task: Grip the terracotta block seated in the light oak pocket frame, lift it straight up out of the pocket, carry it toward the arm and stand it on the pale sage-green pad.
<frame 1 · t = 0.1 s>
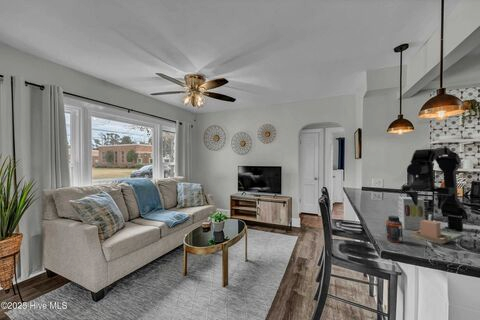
hand: (427, 207, 98), 15 cm above the countertop, tool pointing down, fingers open, 9 cm apart
supplement box: (411, 228, 113), on the countertop
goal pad: (443, 234, 101), on the countertop
part block: (430, 230, 96), in the pocket block
supplement bottle: (394, 241, 94), on the countertop
pocket block: (430, 238, 96), on the countertop
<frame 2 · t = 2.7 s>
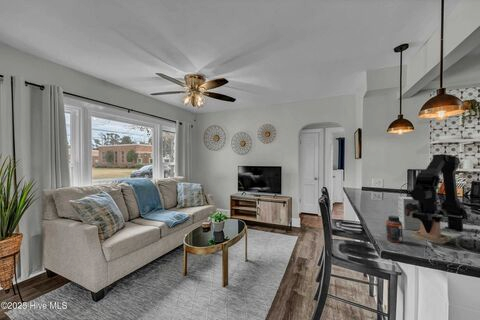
hand: (430, 232, 96), 3 cm above the countertop, tool pointing down, fingers closed on part block, 4 cm apart
part block: (430, 230, 96), in the pocket block, touching gripper
everything else where it was.
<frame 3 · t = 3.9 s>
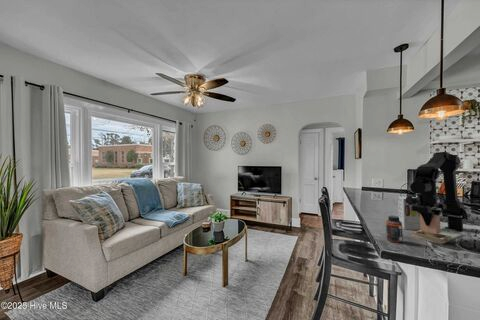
hand: (430, 225, 96), 6 cm above the countertop, tool pointing down, fingers closed on part block, 4 cm apart
part block: (429, 223, 96), point 7 cm above the countertop, touching gripper
everything else where it was.
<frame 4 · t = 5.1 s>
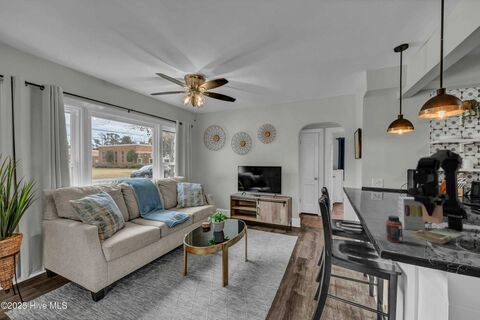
hand: (432, 215, 98), 11 cm above the countertop, tool pointing down, fingers closed on part block, 4 cm apart
part block: (432, 213, 98), point 12 cm above the countertop, touching gripper
everything else where it was.
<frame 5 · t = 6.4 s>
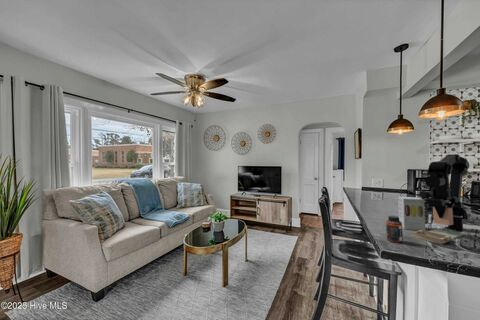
hand: (442, 217, 102), 8 cm above the countertop, tool pointing down, fingers closed on part block, 4 cm apart
part block: (442, 215, 102), point 9 cm above the countertop, touching gripper
everything else where it was.
when the fingers open (5 cm above the countertop, at t = 7.7 s): part block drops 1 cm, resting on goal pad.
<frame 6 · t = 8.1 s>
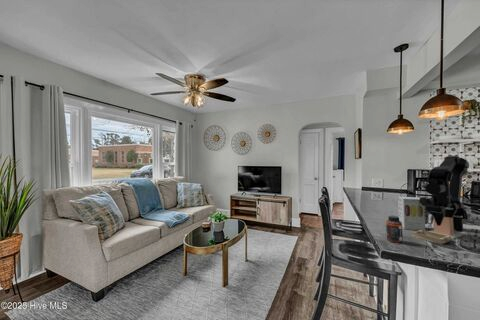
hand: (443, 224, 102), 5 cm above the countertop, tool pointing down, fingers open, 9 cm apart
part block: (443, 225, 102), on the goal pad, point 5 cm above the countertop
everything else where it was.
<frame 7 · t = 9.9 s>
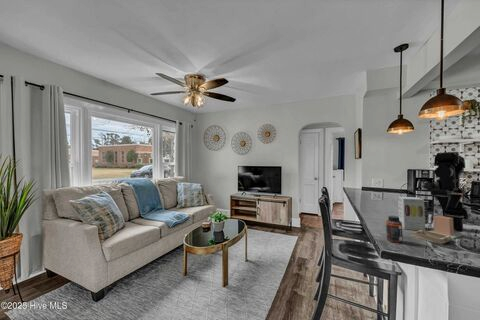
hand: (448, 209, 100), 13 cm above the countertop, tool pointing down, fingers open, 9 cm apart
nothing on the countertop moved.
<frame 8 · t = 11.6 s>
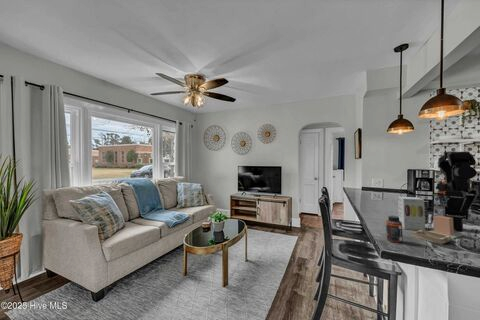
hand: (462, 210, 96), 13 cm above the countertop, tool pointing down, fingers open, 9 cm apart
nothing on the countertop moved.
at the end: part block inside the target area on the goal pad (0.1 cm from its centre), point 4.6 cm above the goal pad's base; part block tilted 0°; the gripper is holding nothing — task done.
